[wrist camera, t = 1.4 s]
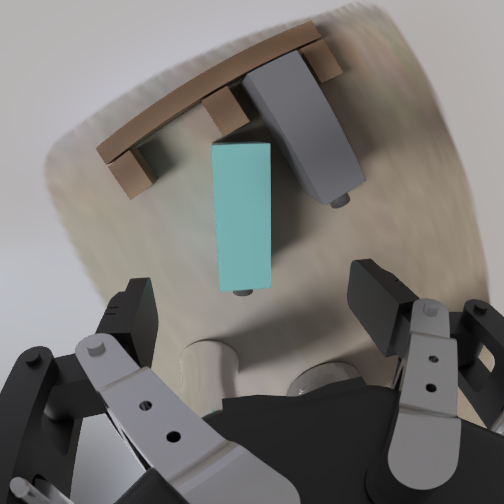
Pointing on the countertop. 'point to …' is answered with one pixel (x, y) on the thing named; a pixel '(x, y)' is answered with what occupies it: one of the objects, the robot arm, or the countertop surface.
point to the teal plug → (242, 215)
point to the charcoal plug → (305, 129)
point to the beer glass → (208, 376)
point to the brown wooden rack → (210, 101)
